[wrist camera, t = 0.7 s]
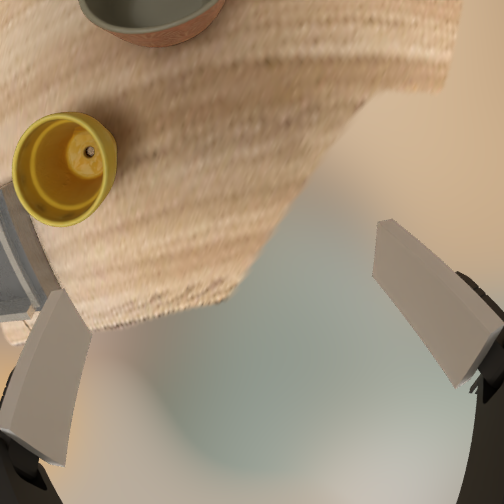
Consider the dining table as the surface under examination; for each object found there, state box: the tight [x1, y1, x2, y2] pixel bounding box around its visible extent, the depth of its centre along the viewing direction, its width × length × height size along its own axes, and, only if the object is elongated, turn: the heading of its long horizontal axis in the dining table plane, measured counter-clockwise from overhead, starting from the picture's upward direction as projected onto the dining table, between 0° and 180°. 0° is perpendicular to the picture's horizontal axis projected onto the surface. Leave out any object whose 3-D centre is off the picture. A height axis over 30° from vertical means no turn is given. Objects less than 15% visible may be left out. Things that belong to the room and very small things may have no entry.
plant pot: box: [12, 112, 117, 227], centre depth 23 cm, size 10×10×10 cm
